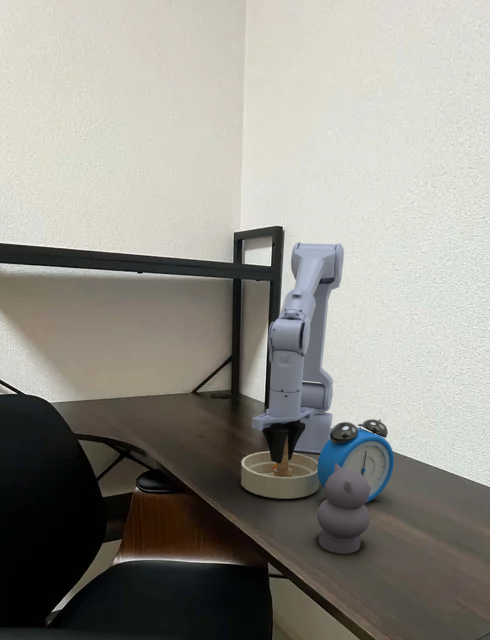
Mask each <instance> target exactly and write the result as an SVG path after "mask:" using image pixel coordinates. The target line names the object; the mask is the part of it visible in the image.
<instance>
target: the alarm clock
mask: <svg viewBox="0 0 490 640" xmlns="http://www.w3.org/2000/svg"><path fill="white" fill-rule="evenodd" d="M357 426H358V427H357ZM388 435H389V430H388V428H387V426H386V424H385V423H383V422H382V420H381V419H375V418H369V419H367V420H366V419H365V420H364V421H363V422H362V423H358V424H357V425H356V424H354V423H352V422H350V421H342V422H339V423H337V424H335V425H334V426H333V427H331V432H330V439H329V440H328V442H327V443H326V444H325V446H324V447H323V449H322V451H321V453H319V456H318V460H317V461H318V466H317V473H318V478H319V484H320V485H321V487H322V488H323V489H324V490H325V484H326V481H327V480H328V478H329V477H330V476H331V475H332V474H333V473H334V469H335V462H336V463H337V464H338V465H339V466H340V467H341V468H342V469H343V470H344V469H348V470H354V471H356V472H358V473H360V474H361V475H363V476H364V477H365V478H366V480H367V482H368V484H369V487H370V494H369V498H368V500H367V502H366V503H369V502H374V501H375V499H376V498H377V497H378V496H379V495H380V494H381V493H382V492H383V491H384V490H385V488H386V486H387V485H388V483H389V482H390V479H391V477H392V474H393V471H394V467H395V466H394V465H395V456H394V450H393V448H392V445H391V444H390V443H389V442H388V441H387V437H388ZM366 503H365V504H366Z"/></svg>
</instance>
